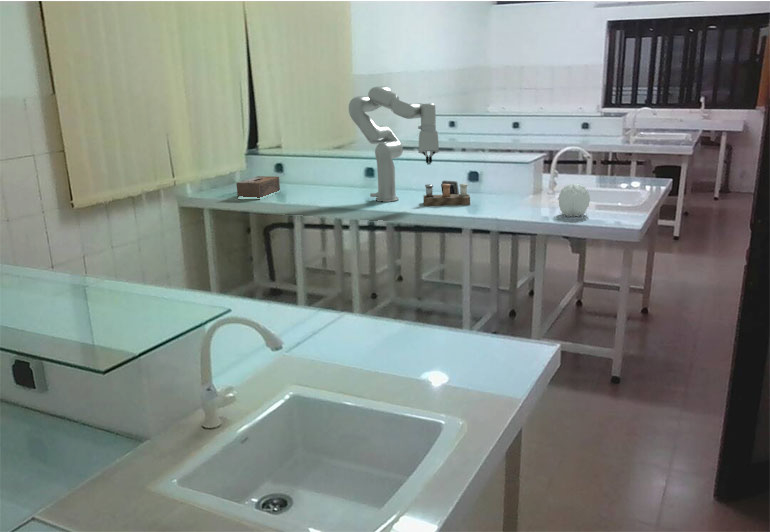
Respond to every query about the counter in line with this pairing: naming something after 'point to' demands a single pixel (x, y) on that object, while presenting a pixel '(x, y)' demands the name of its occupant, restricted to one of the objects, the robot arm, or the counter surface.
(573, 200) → the brain
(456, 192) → the electrical switch
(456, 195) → the socket board
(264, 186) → the tissue box cover
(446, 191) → the plug terracotta
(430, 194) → the plug grey
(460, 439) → the counter surface
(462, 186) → the plug ivory
